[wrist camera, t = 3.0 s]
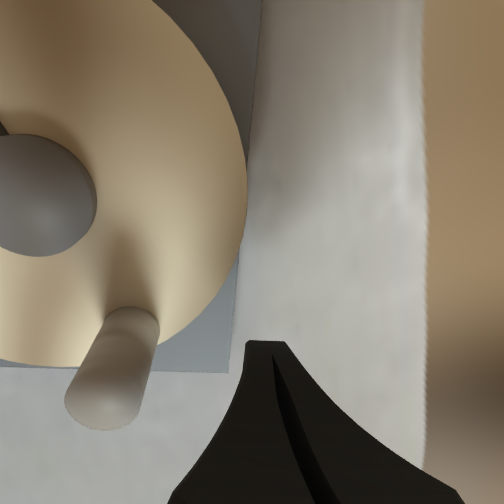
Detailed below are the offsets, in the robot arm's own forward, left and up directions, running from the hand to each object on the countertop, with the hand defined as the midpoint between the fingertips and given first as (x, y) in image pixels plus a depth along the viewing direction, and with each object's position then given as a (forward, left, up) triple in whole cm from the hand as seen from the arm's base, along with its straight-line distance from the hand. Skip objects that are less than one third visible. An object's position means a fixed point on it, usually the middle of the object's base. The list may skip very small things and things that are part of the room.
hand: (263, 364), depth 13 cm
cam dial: (-7, +5, -3) cm, 9 cm away
